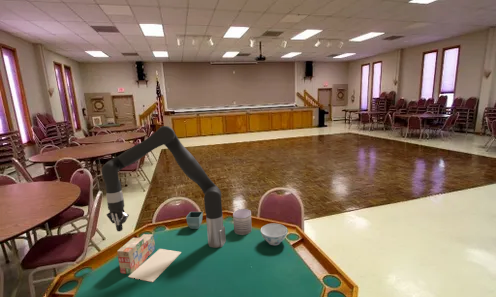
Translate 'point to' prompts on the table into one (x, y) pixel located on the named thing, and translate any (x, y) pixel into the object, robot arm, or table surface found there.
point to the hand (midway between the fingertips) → (119, 230)
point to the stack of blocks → (135, 253)
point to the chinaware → (274, 233)
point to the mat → (155, 265)
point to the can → (242, 221)
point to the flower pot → (194, 219)
